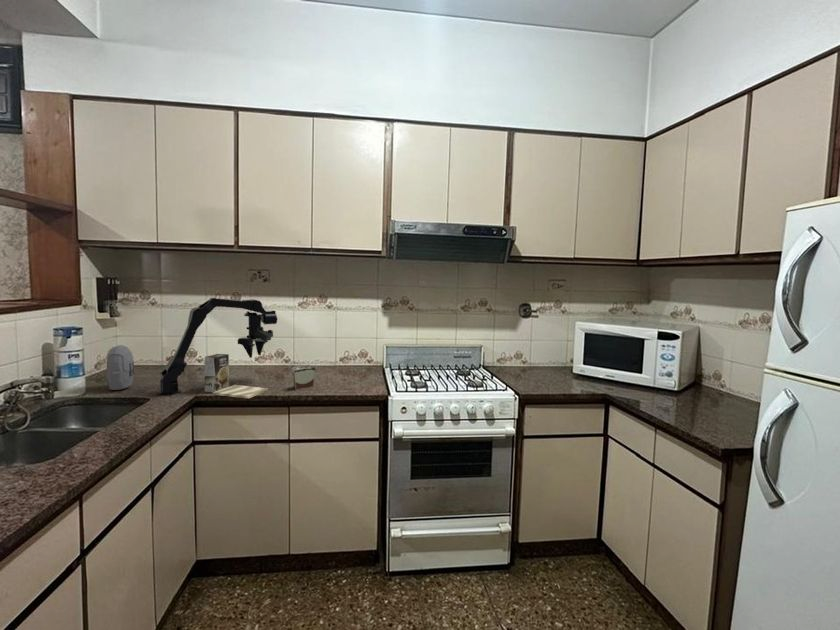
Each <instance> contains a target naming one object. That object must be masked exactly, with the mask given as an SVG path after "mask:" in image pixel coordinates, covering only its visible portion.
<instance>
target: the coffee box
mask: <svg viewBox="0 0 840 630" xmlns="http://www.w3.org/2000/svg"><path fill="white" fill-rule="evenodd" d="M229 356H230V354H229V353H228V354H227V353H216V354H211V355H207V356H204V392H205V393H207V392H209V393H213V392H216V391H219V390H221V389H224V388H227V387H230V374H229V372H230V371H229V370H230V368H229V367H230V364H229V363H230V362H229V361H230V359H229V358H230V357H229Z"/></svg>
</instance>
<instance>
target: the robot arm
mask: <svg viewBox="0 0 840 630" xmlns="http://www.w3.org/2000/svg"><path fill="white" fill-rule="evenodd" d="M216 307H221V308H232V309H233V308H235V309H243V310H247V311H246V312H245V313H244V314H243V316H244V317H248V326H247V327H246V330H248V335H246V337H240V338H238V339H237V345H241V346H242V347H243V349H244V350H245V351H246V353H247V355H248V357H249V358H253V349H254V346H255V348H256V353H257V355H258V356H261V355H262V351H263V349H264V346H265V344H266V343H268V342H269V341H271V340H272V338H273V337H274V331H273V330H272V329H268V330H264V327H263V326H262V324H263V325H276V324H278V323H277V322H278V316H277V313H276V310H266V309H265V308H264V307H263V303H262V302H261V300H258V299H244V300H243V299H242V300H240V299H239V300H238V299H228V298H217V297H210V298H209V299H207V300H206V301H205V302H203V303H202V304H200V305H199V306H197V307H193V308H191V309H190V310H189V315H188V319H187V321H188V322H187V326H186V329H185V330H184V333H183V335H182V337H181V340H180V342H179V344H178V347H177V349H176V351H175V353H174V355H173V356H172V357H171V358H170V359H169V361H168V362H167V364H166V365H165V367H164V369H163V370H162V371H161V372H160V373H159V375H160V377H161V378H160V379H159V380H160V383H159V385H160V391H159V392H157V395H162V394H164V396H171V395H175V394H178V393H181V390H179V380H178V377H179V376H180V375H182V373H184V372H185V369H186V367H187V365H188V363H187V362H186V360H185V358H186V356H187V354H188V351H189V349H190V346H191V345H192V342H193V339H194V338H195V335H196V332H197V330H198V328H199V327H200V326H201V325H202V324H203V322H204V321H205V319H206V318H207V315H208V314H209V313H211V312H212V311H213V310H214V309H215V308H216ZM250 311H252V312H250Z"/></svg>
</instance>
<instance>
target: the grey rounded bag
mask: <svg viewBox="0 0 840 630" xmlns="http://www.w3.org/2000/svg"><path fill="white" fill-rule="evenodd" d="M105 372H106V380H107V384H108V388H109V390H112V391H113V390H114V391H116V390H117V391H119V390H124V389H127V388H129V387H131V386H132V384H133V380H134V375H135V361H134V356H133V352H132V351H131V350H130V348H129V347H128V346H125V345H123V344H122V345H121V344H119V345H116V346H112V347H111V348H109V351H108V353H107V361H106V369H105Z"/></svg>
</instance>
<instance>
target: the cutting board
mask: <svg viewBox="0 0 840 630" xmlns="http://www.w3.org/2000/svg"><path fill="white" fill-rule="evenodd" d="M265 391H266V392H268V391H269V388H268V387H258V386H251V385H250V386H249V385H240V384H233V385H231V386H230V385H229V387H227V388H224V389H221V390H219V391H216V392H212V393H213V395H215V396H224V397H232V398H240V399H249V400H250V399H251V398H253V397H255V396H258V395H261V394H263V393H265Z"/></svg>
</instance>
